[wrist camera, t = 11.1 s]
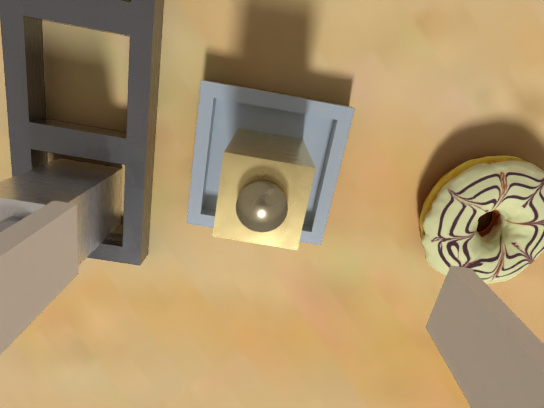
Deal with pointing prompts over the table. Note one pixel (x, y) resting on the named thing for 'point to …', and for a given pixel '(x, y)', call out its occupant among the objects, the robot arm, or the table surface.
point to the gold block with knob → (263, 189)
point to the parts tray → (276, 120)
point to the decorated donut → (476, 202)
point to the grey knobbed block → (67, 198)
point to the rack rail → (79, 138)
